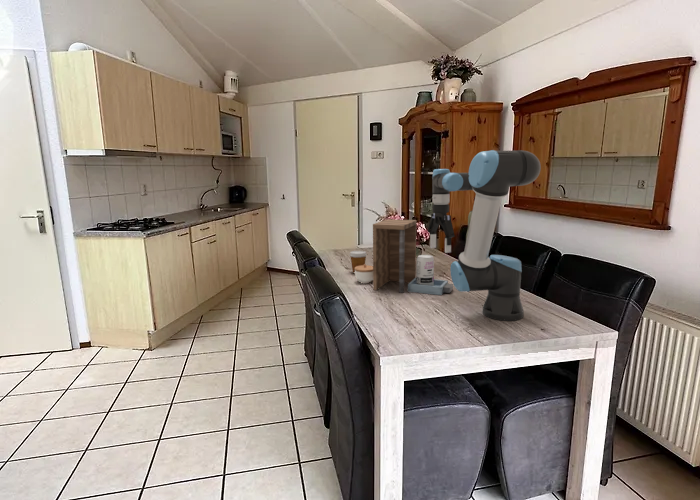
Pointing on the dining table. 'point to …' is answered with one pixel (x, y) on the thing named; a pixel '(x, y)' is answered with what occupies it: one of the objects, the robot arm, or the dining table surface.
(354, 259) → the disposable coffee cup
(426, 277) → the supplement can
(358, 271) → the lidded jar
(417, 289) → the tray
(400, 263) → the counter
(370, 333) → the dining table surface
